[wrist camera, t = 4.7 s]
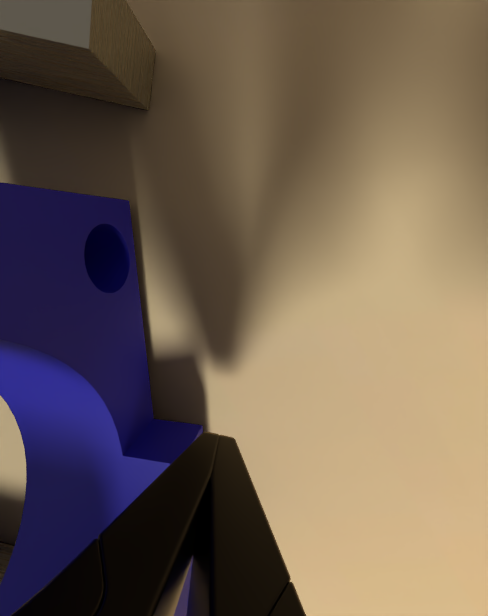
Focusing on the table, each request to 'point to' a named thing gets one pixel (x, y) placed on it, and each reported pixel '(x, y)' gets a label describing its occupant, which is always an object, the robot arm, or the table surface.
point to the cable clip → (75, 378)
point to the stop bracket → (76, 60)
